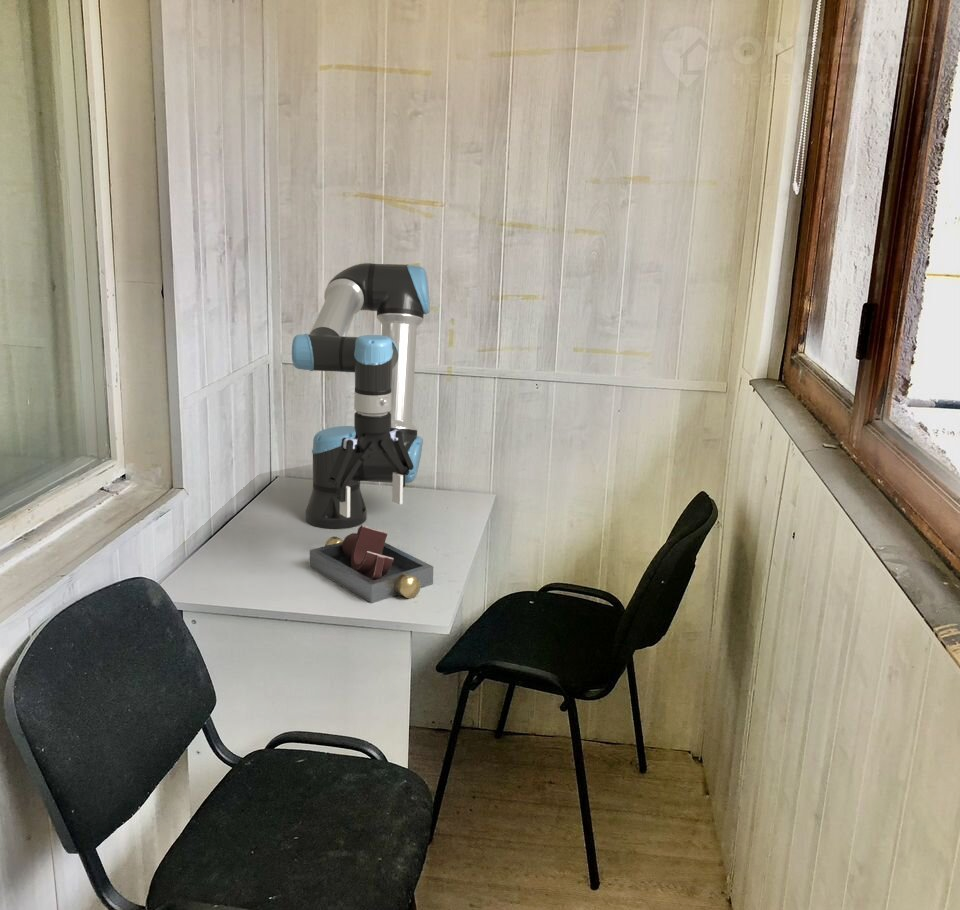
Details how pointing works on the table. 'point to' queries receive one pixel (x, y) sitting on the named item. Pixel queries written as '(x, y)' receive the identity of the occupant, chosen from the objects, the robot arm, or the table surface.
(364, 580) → the cradle
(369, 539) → the bracket
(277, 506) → the table surface
